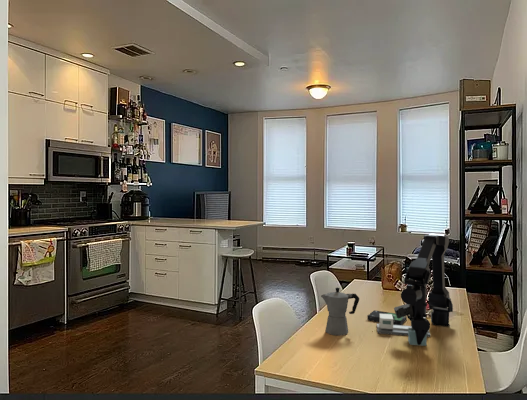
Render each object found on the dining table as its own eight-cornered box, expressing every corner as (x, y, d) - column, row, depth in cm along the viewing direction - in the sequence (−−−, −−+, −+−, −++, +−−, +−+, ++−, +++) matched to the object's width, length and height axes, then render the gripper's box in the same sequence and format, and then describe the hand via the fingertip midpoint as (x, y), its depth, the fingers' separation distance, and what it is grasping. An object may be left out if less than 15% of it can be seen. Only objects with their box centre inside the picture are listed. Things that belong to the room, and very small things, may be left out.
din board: (426, 329, 182) (426, 315, 182) (430, 337, 172) (430, 322, 172) (376, 325, 186) (376, 312, 186) (377, 333, 176) (378, 319, 176)
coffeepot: (322, 335, 172) (322, 290, 172) (319, 328, 182) (319, 284, 181) (361, 336, 173) (362, 290, 172) (356, 328, 182) (356, 285, 182)
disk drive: (367, 321, 194) (401, 326, 186) (367, 315, 194) (401, 320, 186) (373, 316, 203) (406, 320, 195) (373, 310, 202) (406, 314, 195)
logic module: (424, 341, 167) (424, 328, 167) (426, 346, 162) (426, 332, 162) (408, 340, 168) (408, 327, 168) (409, 344, 164) (409, 331, 164)
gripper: (393, 292, 176) (392, 330, 176) (397, 303, 157) (397, 347, 158) (422, 293, 173) (422, 333, 174) (430, 305, 155) (429, 349, 156)
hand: (417, 340), depth 165 cm, fingers open, 9 cm apart
